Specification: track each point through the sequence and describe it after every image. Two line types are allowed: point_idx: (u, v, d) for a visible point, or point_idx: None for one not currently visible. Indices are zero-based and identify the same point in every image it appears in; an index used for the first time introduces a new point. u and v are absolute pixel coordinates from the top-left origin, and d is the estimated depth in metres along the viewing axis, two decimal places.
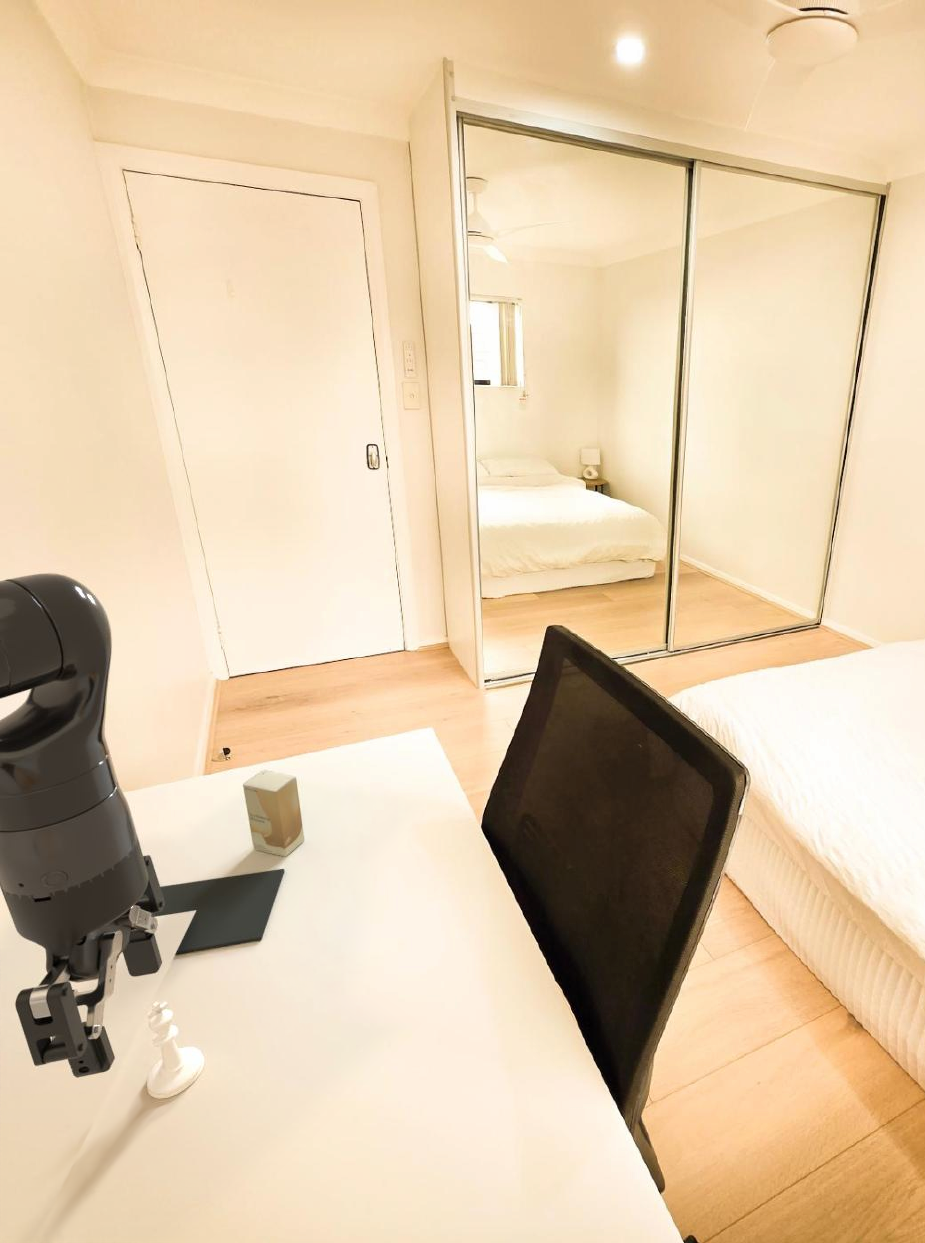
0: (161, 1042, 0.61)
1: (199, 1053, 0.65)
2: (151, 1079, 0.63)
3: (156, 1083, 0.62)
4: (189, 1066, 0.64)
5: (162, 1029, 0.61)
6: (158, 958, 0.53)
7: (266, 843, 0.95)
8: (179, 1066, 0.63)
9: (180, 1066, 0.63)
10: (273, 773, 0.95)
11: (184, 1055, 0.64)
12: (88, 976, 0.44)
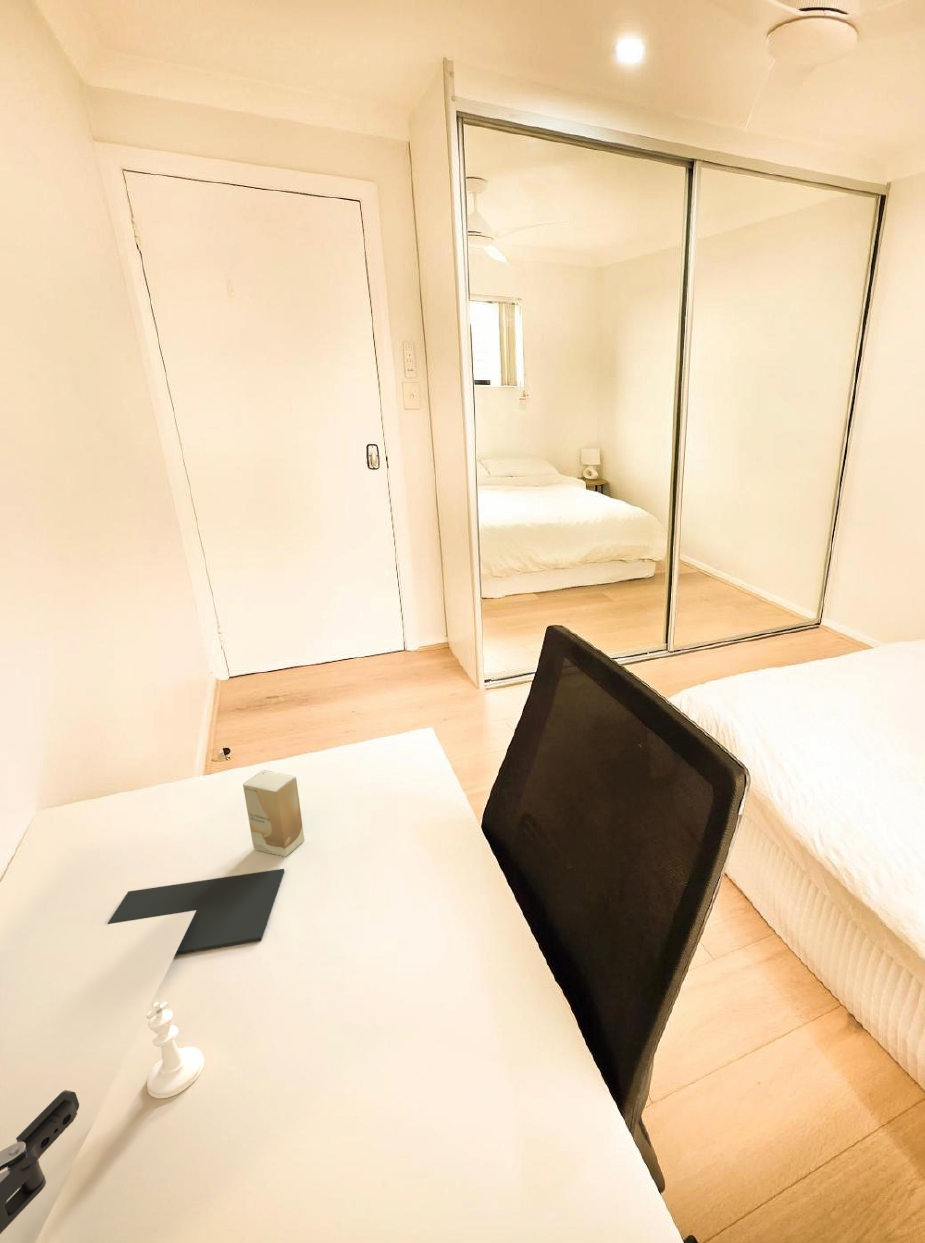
0: (161, 1042, 0.61)
1: (199, 1053, 0.65)
2: (151, 1079, 0.63)
3: (156, 1083, 0.62)
4: (189, 1066, 0.64)
5: (162, 1029, 0.61)
6: None
7: (266, 843, 0.95)
8: (179, 1066, 0.63)
9: (180, 1066, 0.63)
10: (273, 773, 0.95)
11: (184, 1055, 0.64)
12: None
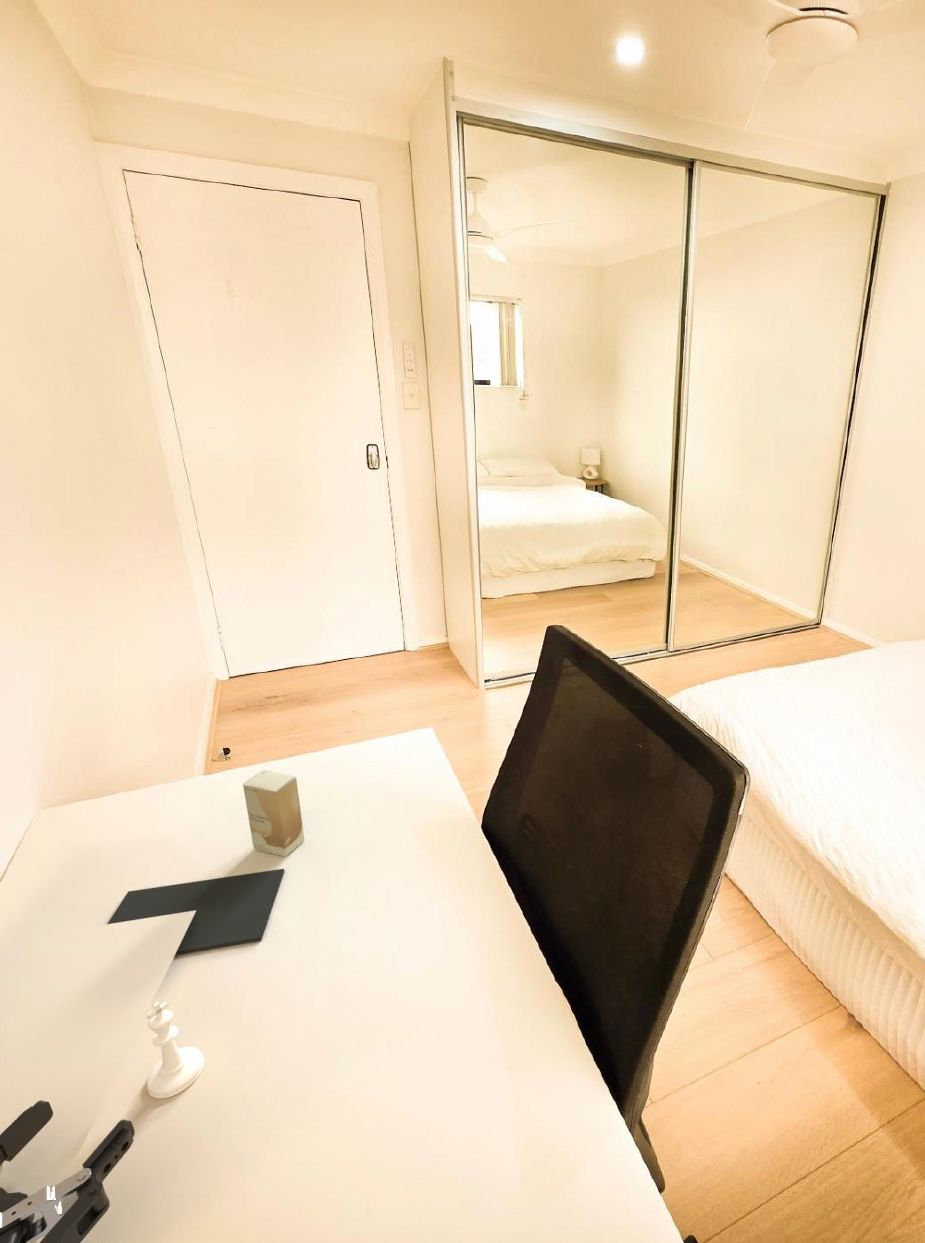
0: (161, 1042, 0.61)
1: (199, 1053, 0.65)
2: (151, 1079, 0.63)
3: (156, 1083, 0.62)
4: (189, 1066, 0.64)
5: (162, 1029, 0.61)
6: (30, 1113, 0.54)
7: (266, 843, 0.95)
8: (179, 1066, 0.63)
9: (180, 1066, 0.63)
10: (273, 773, 0.95)
11: (184, 1055, 0.64)
12: (22, 1227, 0.47)
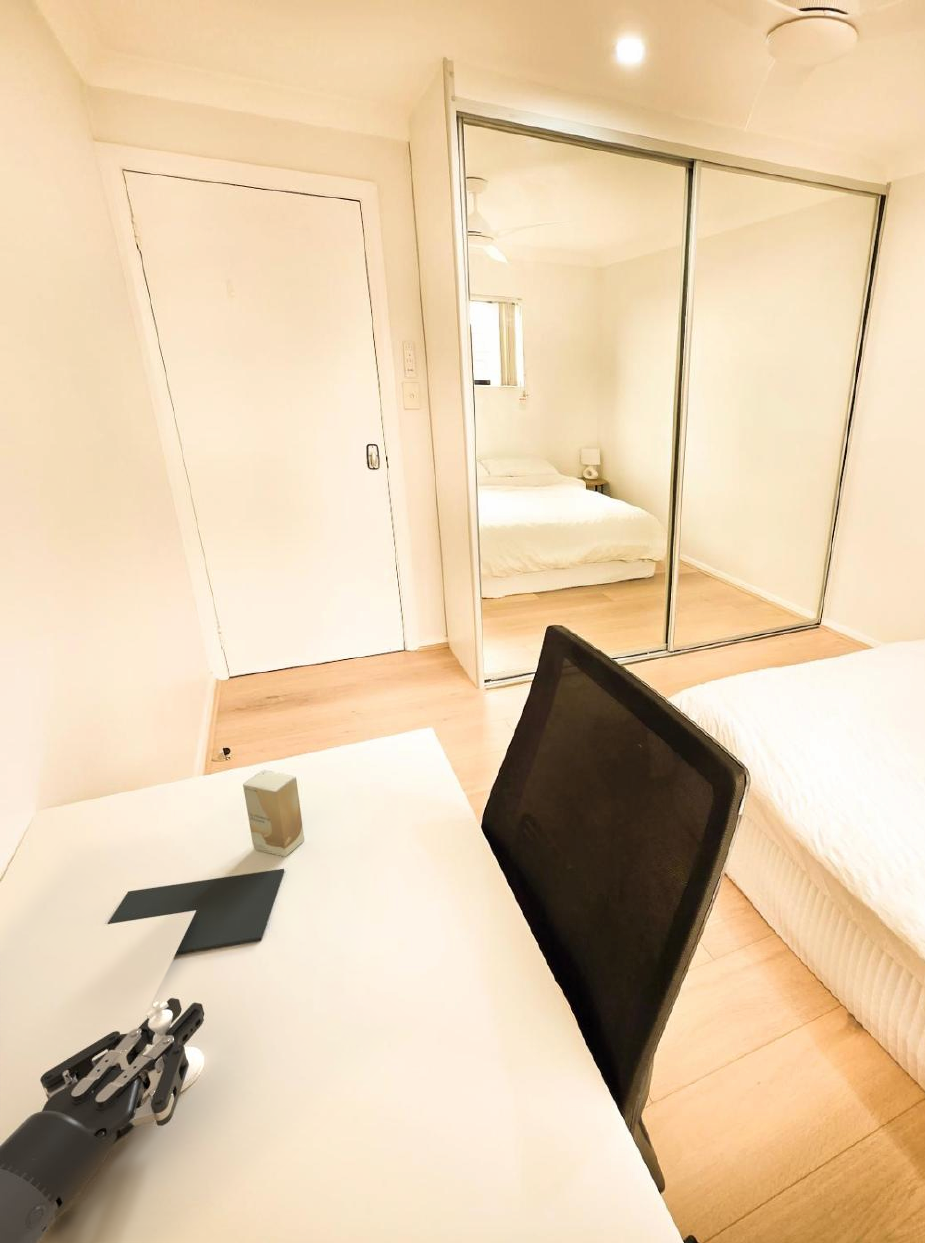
0: None
1: (199, 1052, 0.65)
2: None
3: None
4: (189, 1066, 0.64)
5: (162, 1028, 0.61)
6: None
7: (266, 843, 0.95)
8: None
9: None
10: (273, 773, 0.95)
11: None
12: (137, 1094, 0.56)
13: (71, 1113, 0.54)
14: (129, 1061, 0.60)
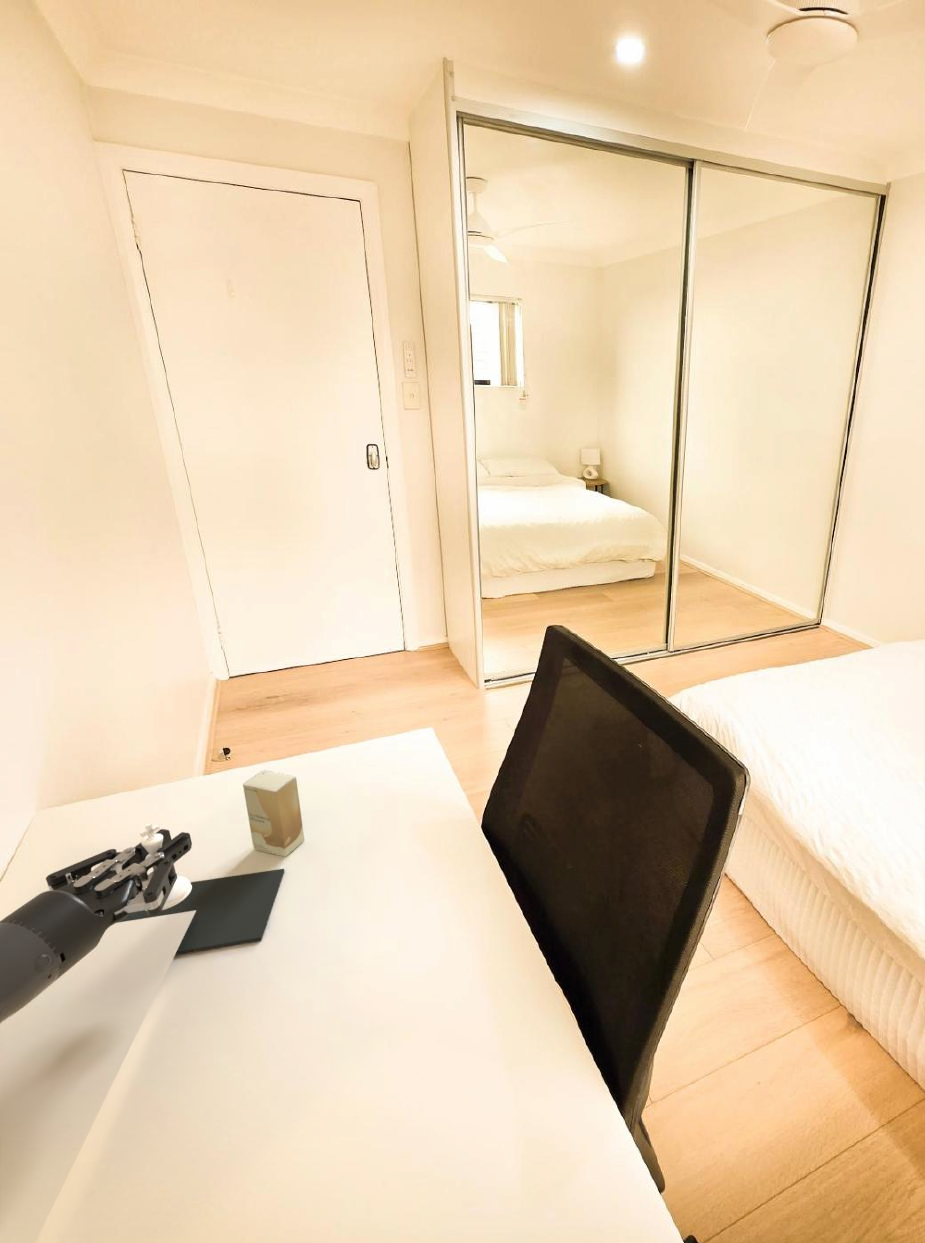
0: None
1: (186, 880, 0.73)
2: None
3: None
4: (178, 888, 0.71)
5: (153, 847, 0.69)
6: None
7: (266, 843, 0.95)
8: None
9: None
10: (273, 773, 0.95)
11: None
12: (131, 890, 0.64)
13: None
14: None
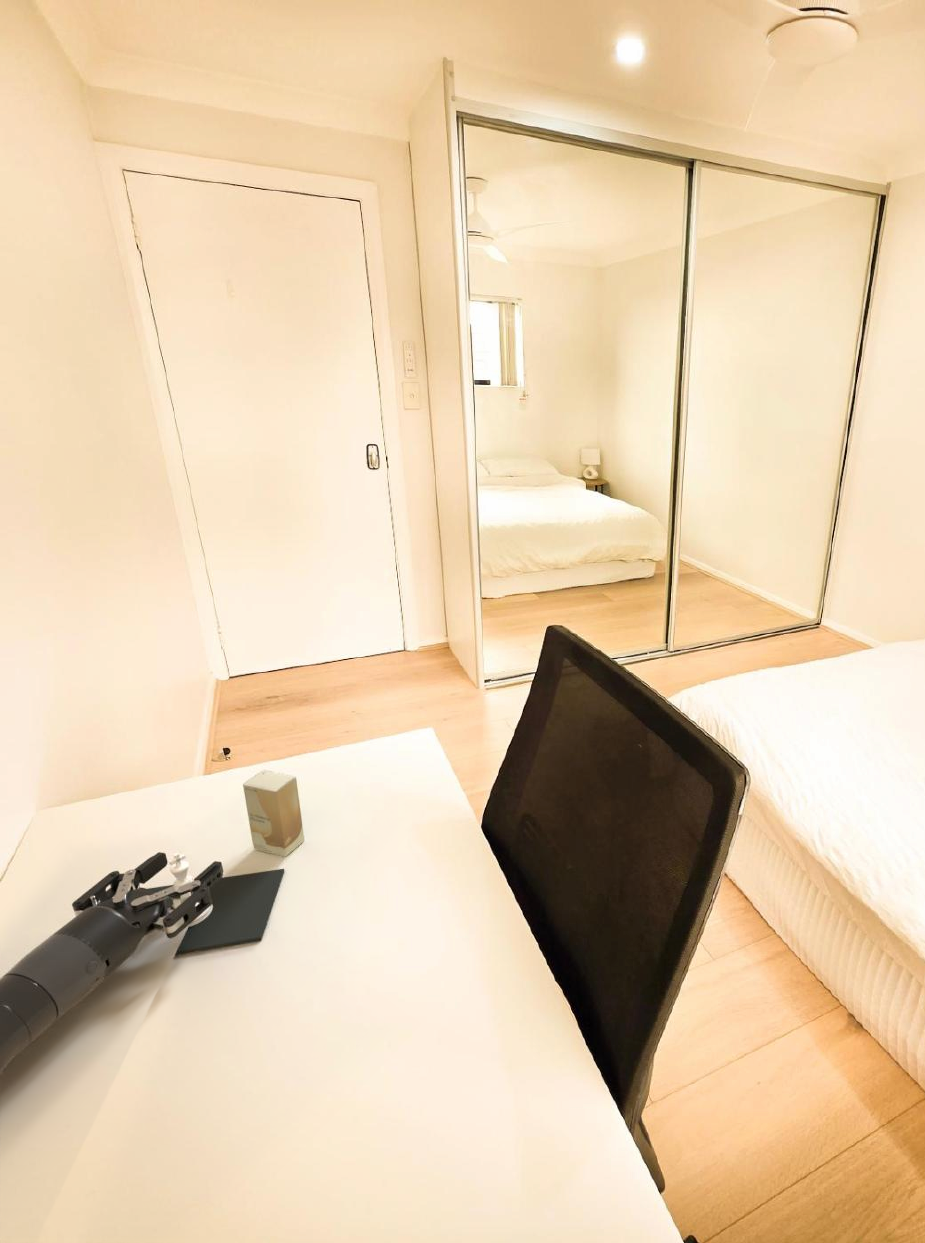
0: (180, 884, 0.80)
1: None
2: None
3: None
4: None
5: (180, 873, 0.80)
6: (155, 857, 0.82)
7: (266, 843, 0.95)
8: None
9: None
10: (273, 773, 0.95)
11: None
12: (161, 905, 0.75)
13: None
14: None
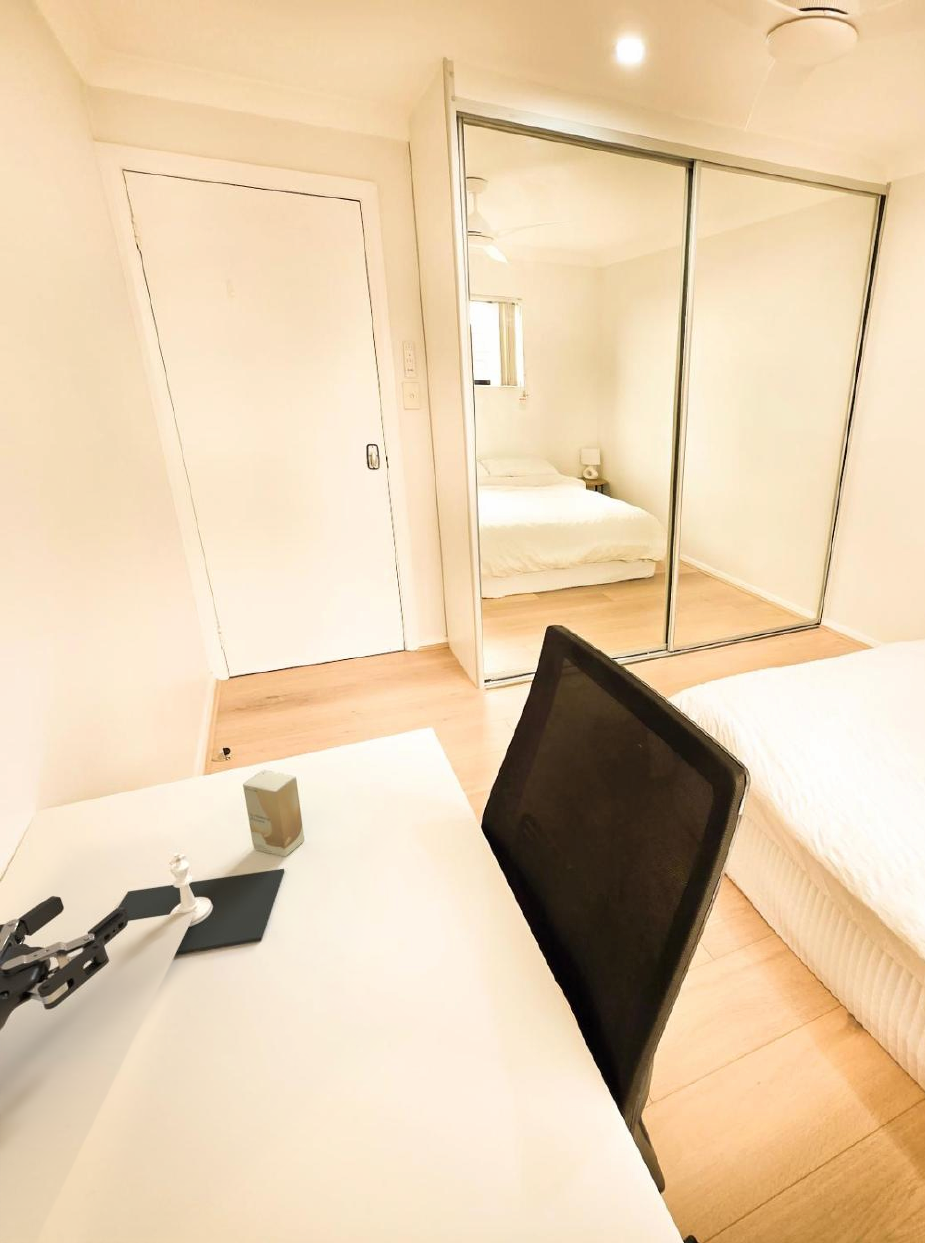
0: (180, 884, 0.80)
1: (208, 900, 0.84)
2: None
3: None
4: (201, 908, 0.83)
5: (180, 873, 0.80)
6: (46, 902, 0.68)
7: (266, 843, 0.95)
8: (193, 906, 0.82)
9: (194, 907, 0.82)
10: (273, 773, 0.95)
11: (197, 900, 0.83)
12: (42, 966, 0.61)
13: None
14: None
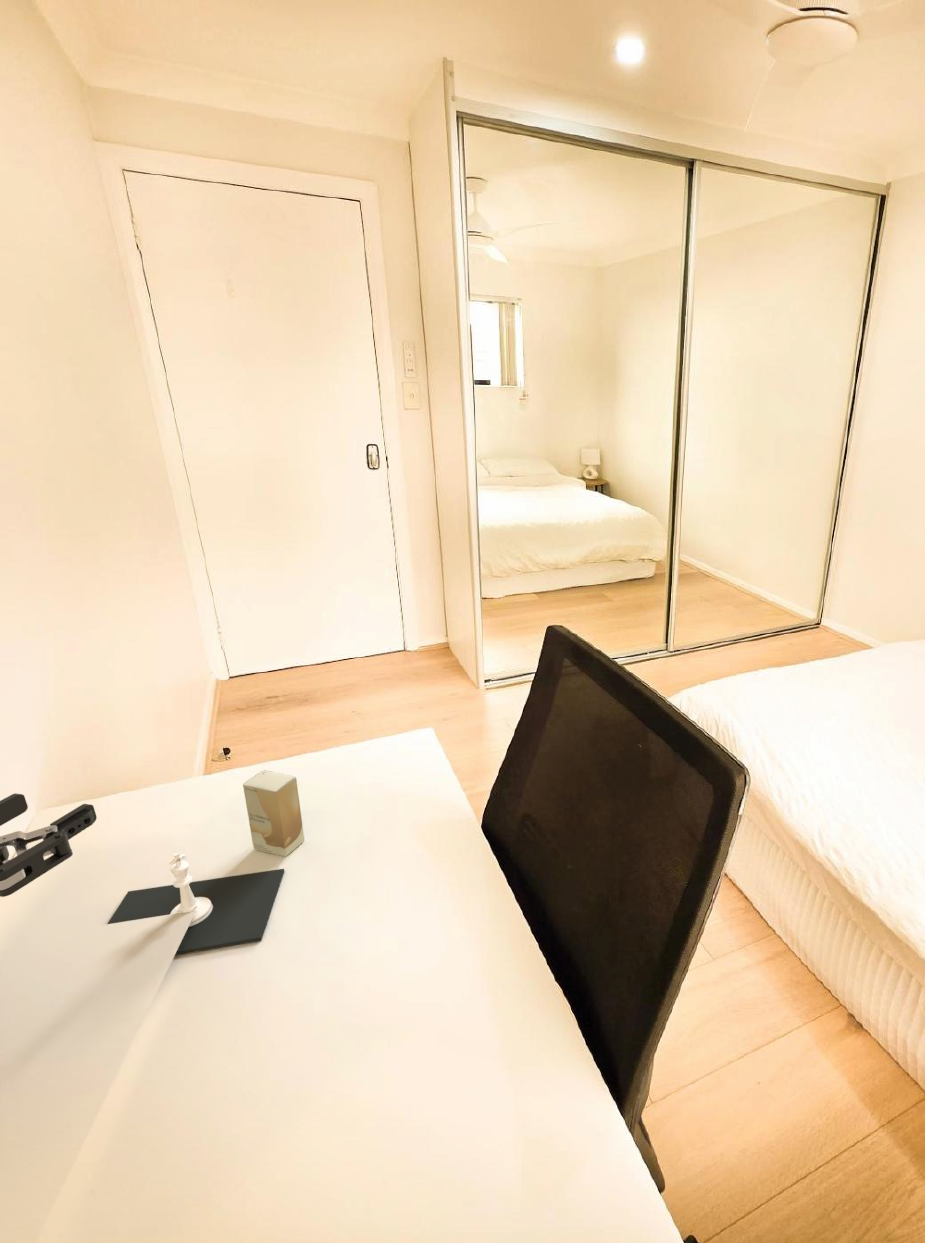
0: (180, 884, 0.80)
1: (208, 900, 0.84)
2: None
3: None
4: (201, 908, 0.83)
5: (180, 873, 0.80)
6: (8, 798, 0.63)
7: (266, 843, 0.95)
8: (193, 906, 0.82)
9: (194, 907, 0.82)
10: (273, 773, 0.95)
11: (197, 900, 0.83)
12: None
13: None
14: None
